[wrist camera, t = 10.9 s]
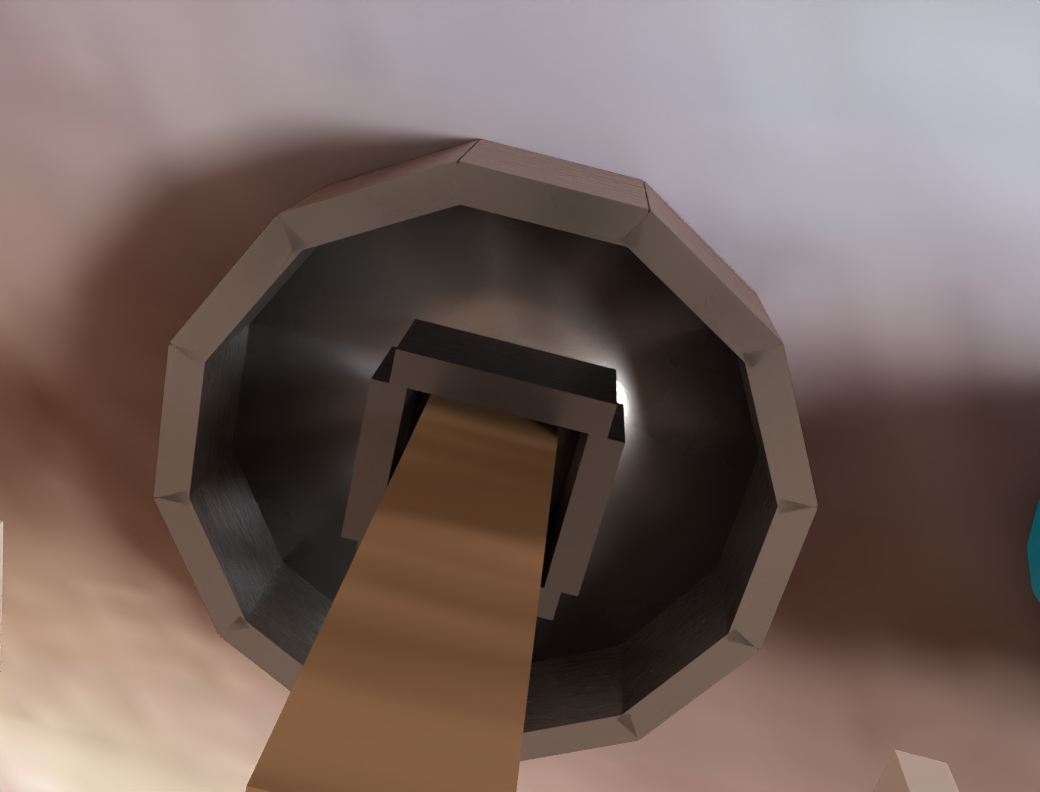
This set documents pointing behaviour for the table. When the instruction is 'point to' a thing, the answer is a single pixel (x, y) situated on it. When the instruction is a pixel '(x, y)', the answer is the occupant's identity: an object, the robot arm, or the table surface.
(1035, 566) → the mug
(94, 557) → the table surface
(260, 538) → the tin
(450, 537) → the square wooden stick
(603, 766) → the table surface
